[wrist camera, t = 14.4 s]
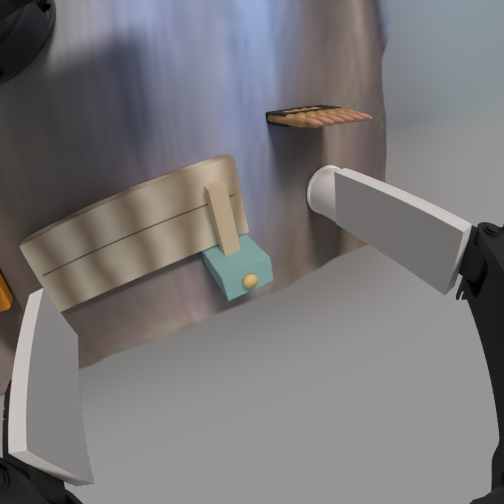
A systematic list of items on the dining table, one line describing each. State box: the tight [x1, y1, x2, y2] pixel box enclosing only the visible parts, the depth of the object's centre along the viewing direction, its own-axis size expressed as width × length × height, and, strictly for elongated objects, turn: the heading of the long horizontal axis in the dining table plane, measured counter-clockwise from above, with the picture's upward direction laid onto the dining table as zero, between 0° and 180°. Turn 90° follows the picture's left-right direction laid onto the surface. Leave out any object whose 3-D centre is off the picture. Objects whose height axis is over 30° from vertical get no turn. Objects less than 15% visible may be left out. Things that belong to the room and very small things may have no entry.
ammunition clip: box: [266, 105, 373, 128], centre depth 36 cm, size 11×2×12 cm, turn 101°
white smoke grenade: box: [307, 165, 357, 237], centre depth 43 cm, size 10×9×20 cm
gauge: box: [201, 180, 274, 301], centre depth 39 cm, size 7×14×11 cm, turn 12°
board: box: [19, 154, 249, 312], centre depth 37 cm, size 32×12×2 cm, turn 102°
